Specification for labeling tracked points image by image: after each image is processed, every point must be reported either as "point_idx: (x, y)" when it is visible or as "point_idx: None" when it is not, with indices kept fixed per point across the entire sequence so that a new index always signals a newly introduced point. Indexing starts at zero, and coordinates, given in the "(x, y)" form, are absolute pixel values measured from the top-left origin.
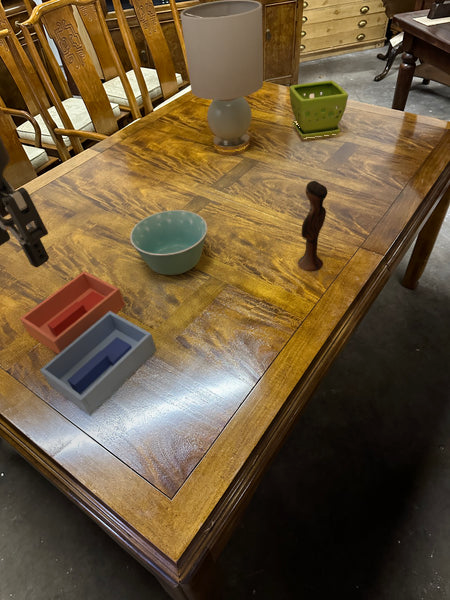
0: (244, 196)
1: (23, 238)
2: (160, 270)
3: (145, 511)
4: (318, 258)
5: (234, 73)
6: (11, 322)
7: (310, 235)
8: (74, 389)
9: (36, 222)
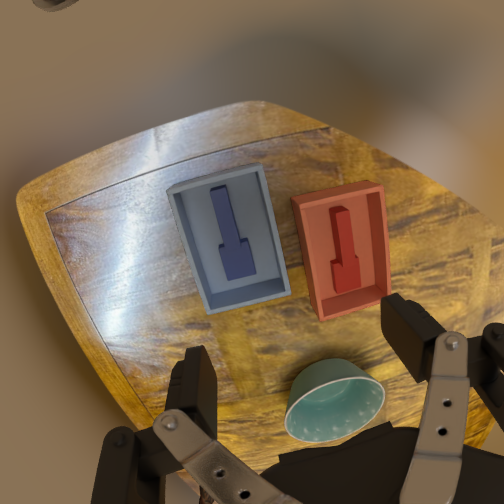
0: None
1: (131, 442)
2: (313, 368)
3: (48, 187)
4: None
5: None
6: (405, 172)
7: None
8: (219, 186)
9: (141, 496)
